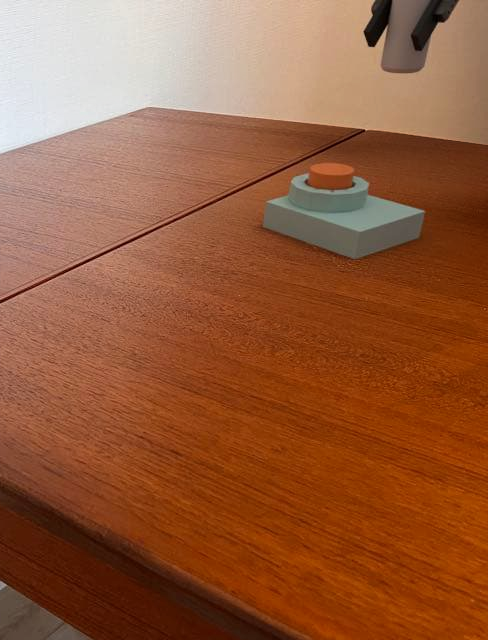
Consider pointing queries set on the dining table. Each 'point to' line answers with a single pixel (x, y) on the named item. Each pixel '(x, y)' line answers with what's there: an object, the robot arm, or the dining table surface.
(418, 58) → the beverage can
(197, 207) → the dining table surface
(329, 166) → the button
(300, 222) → the control box
